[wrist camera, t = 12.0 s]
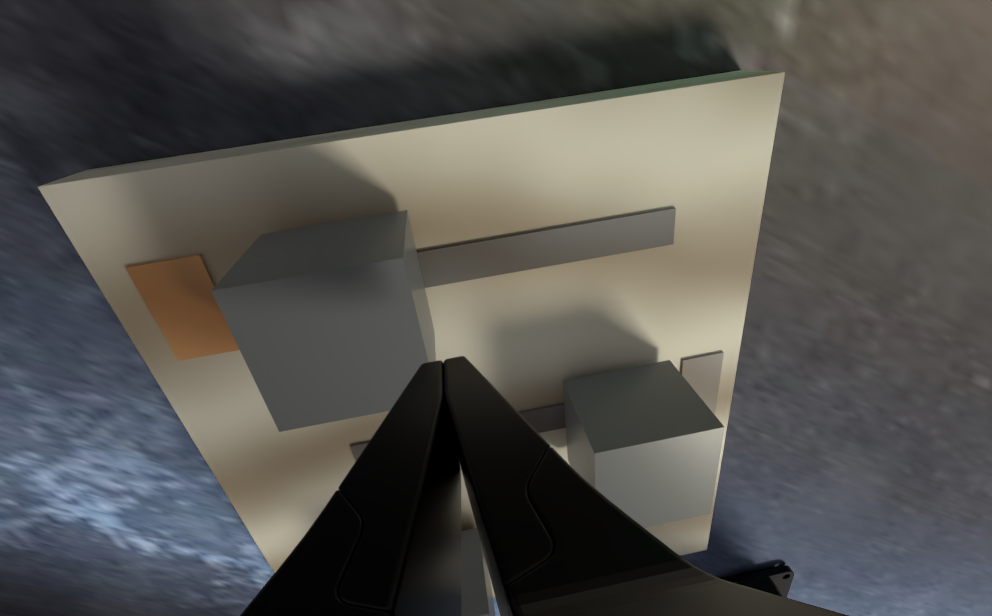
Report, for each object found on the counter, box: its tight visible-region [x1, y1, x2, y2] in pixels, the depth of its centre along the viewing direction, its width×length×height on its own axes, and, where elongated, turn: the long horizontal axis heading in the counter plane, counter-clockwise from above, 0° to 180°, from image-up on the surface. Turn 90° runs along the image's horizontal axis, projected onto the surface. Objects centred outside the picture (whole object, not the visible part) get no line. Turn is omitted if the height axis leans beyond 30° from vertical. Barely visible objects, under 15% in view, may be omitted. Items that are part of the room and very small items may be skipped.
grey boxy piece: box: [461, 528, 495, 616], centre depth 19 cm, size 4×4×4 cm
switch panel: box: [38, 70, 785, 597], centre depth 19 cm, size 22×20×2 cm
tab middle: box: [563, 360, 725, 528], centre depth 16 cm, size 4×4×4 cm
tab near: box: [211, 210, 436, 432], centre depth 12 cm, size 4×4×4 cm
